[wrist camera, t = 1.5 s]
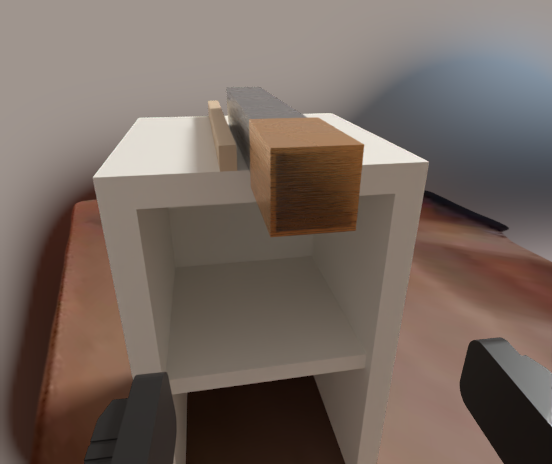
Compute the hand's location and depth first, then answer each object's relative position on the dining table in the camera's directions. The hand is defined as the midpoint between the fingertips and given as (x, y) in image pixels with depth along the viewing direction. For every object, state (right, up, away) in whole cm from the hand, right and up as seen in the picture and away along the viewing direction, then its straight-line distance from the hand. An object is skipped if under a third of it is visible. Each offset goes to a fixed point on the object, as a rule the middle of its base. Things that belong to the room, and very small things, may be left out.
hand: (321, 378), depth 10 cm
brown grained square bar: (-2, +9, +15) cm, 18 cm away
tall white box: (-3, -17, +35) cm, 39 cm away
